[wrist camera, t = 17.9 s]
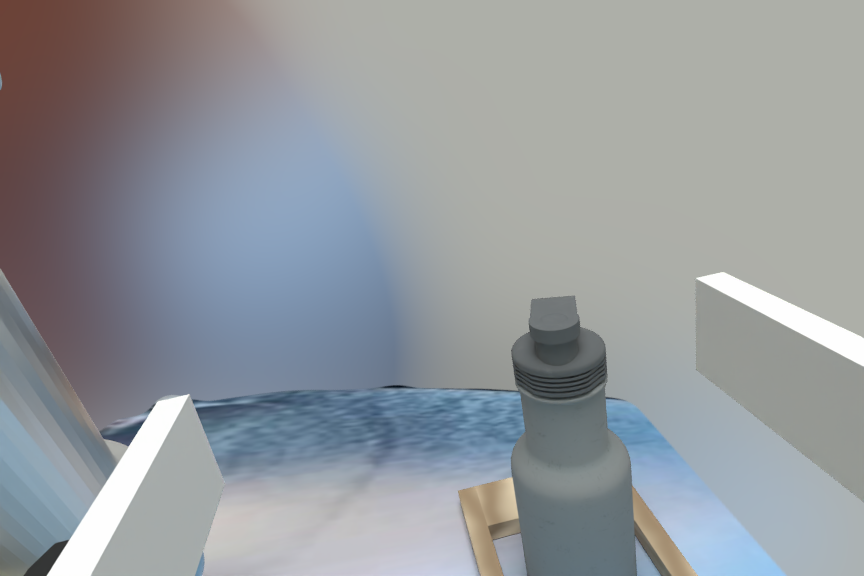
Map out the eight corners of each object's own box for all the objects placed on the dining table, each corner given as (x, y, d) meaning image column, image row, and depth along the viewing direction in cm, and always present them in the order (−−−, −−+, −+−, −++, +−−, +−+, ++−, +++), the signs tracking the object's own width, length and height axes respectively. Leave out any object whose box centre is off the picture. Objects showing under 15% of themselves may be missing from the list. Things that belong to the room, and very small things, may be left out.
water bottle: (530, 533, 56) (494, 287, 46) (628, 535, 53) (613, 276, 43) (527, 627, 47) (481, 345, 37) (646, 635, 44) (632, 335, 34)
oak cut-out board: (508, 681, 43) (505, 665, 42) (460, 504, 61) (458, 490, 61) (719, 623, 44) (719, 605, 43) (609, 466, 63) (608, 453, 62)
